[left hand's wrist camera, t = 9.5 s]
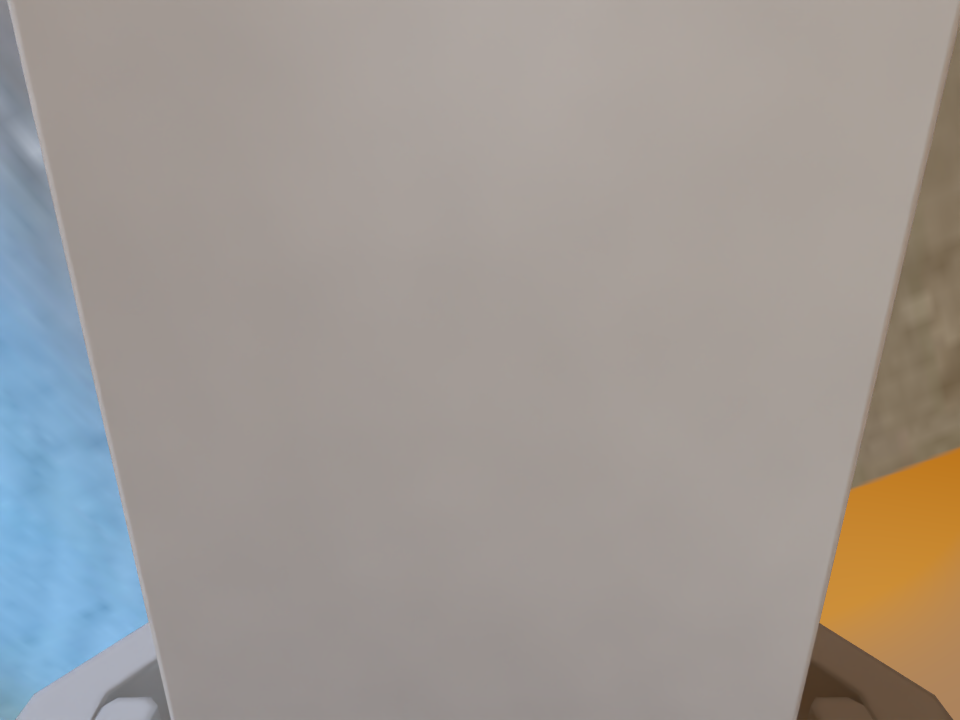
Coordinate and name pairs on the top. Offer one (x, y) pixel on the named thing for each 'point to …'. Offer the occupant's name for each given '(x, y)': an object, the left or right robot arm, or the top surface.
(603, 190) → the bar
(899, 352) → the top surface
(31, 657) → the top surface
